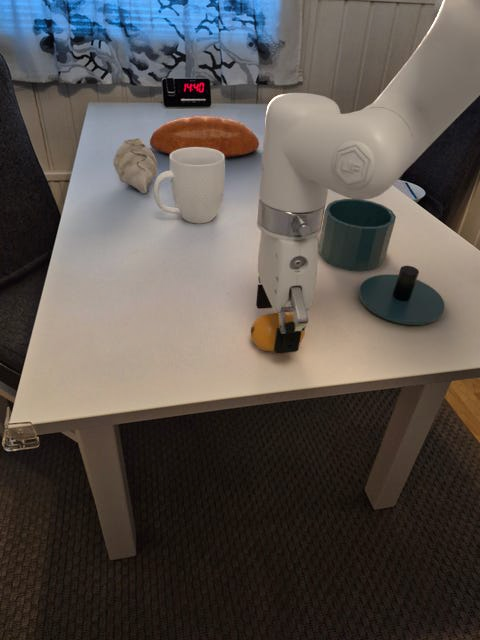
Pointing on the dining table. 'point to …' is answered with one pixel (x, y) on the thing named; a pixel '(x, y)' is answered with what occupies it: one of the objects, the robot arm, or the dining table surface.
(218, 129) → the bread
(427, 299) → the lid
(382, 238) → the pot
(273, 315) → the orange ribbed oval piece
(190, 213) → the mug
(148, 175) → the seashell
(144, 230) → the dining table surface
